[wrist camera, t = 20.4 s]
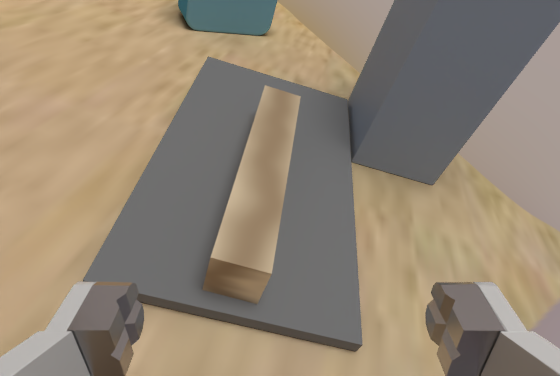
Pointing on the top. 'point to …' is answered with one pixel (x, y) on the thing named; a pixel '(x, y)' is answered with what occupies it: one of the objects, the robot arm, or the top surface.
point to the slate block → (439, 78)
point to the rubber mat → (213, 201)
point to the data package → (229, 15)
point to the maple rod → (255, 203)
